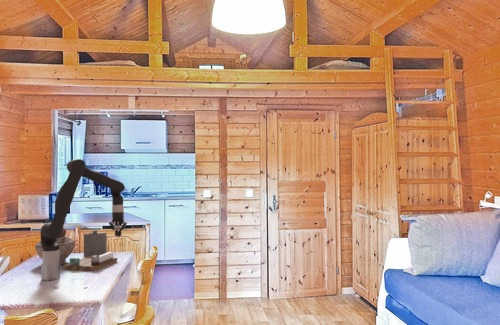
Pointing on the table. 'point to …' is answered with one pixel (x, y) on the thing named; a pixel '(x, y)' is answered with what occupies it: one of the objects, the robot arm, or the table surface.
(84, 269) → the lock board
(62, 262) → the ceramic pot
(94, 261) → the bar
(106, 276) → the table surface
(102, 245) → the hip flask
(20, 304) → the table surface
